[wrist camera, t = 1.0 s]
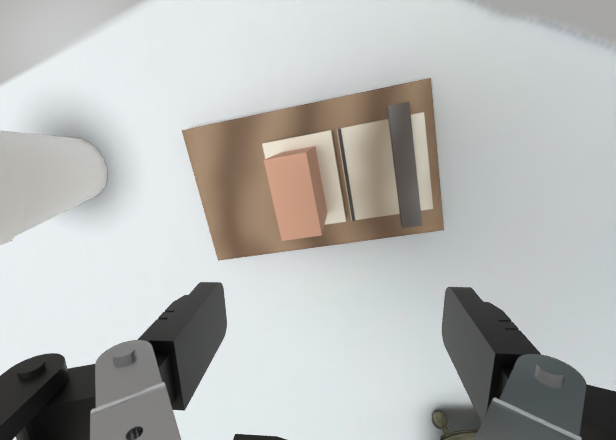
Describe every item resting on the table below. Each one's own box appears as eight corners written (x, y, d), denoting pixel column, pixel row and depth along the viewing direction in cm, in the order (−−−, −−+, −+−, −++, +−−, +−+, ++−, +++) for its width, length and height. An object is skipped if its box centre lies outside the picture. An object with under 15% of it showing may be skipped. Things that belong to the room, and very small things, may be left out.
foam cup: (66, 223, 37) (-79, 275, 24) (20, 142, 35) (-164, 154, 22) (137, 195, 35) (18, 236, 22) (93, 107, 32) (-66, 99, 20)
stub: (331, 129, 29) (325, 132, 22) (346, 217, 31) (344, 245, 24) (265, 142, 30) (239, 149, 23) (283, 227, 32) (265, 256, 25)
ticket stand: (426, 80, 28) (437, 74, 25) (439, 225, 32) (451, 238, 28) (189, 130, 32) (168, 131, 28) (223, 254, 35) (208, 270, 32)
